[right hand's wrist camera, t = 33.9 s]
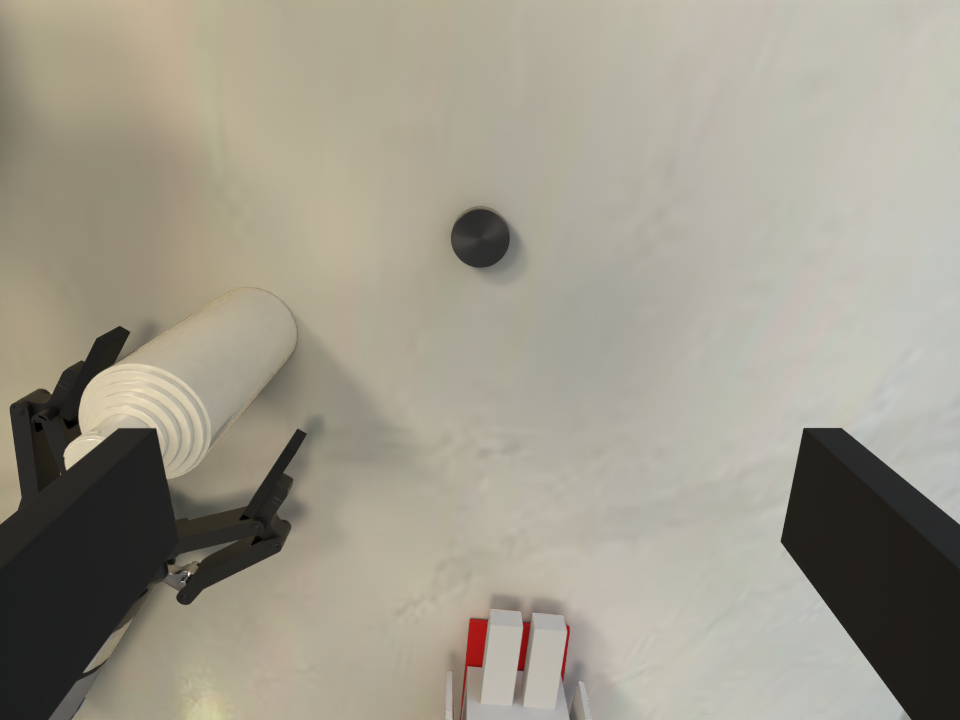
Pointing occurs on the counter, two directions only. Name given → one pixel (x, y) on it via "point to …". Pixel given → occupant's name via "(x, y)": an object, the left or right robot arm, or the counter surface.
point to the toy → (517, 670)
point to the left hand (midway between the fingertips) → (208, 388)
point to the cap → (480, 237)
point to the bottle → (190, 379)
